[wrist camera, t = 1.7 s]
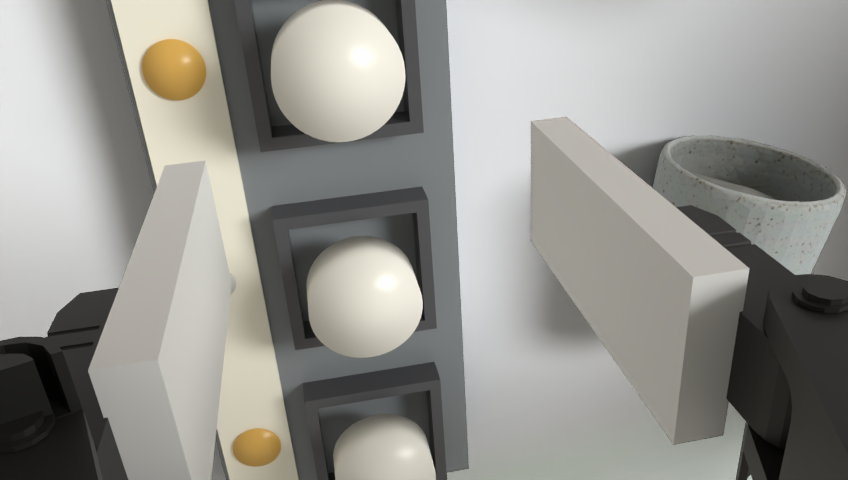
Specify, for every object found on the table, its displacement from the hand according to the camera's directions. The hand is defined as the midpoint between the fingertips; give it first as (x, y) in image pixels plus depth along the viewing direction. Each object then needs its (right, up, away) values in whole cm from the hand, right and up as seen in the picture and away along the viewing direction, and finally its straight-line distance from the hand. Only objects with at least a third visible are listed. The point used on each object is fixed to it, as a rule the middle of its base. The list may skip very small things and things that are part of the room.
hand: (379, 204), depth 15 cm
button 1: (-2, +5, +11) cm, 12 cm away
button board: (-4, -1, +19) cm, 19 cm away
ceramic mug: (+15, +1, +22) cm, 27 cm away
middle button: (-2, -3, +15) cm, 15 cm away
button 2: (-1, -11, +19) cm, 22 cm away
